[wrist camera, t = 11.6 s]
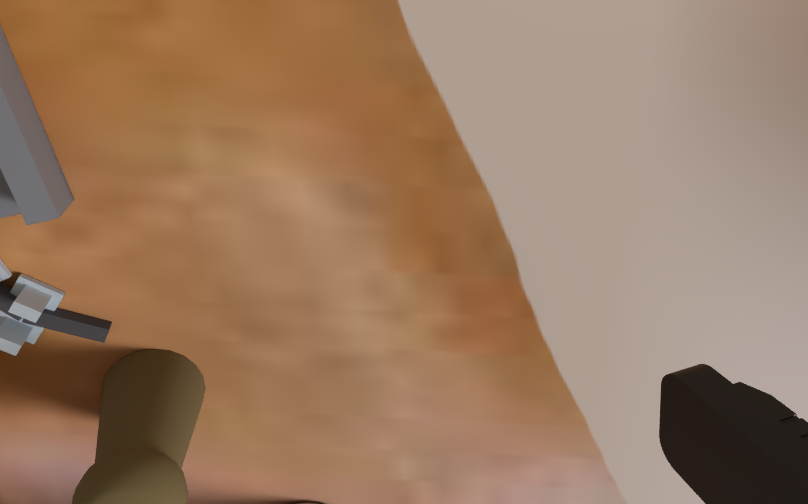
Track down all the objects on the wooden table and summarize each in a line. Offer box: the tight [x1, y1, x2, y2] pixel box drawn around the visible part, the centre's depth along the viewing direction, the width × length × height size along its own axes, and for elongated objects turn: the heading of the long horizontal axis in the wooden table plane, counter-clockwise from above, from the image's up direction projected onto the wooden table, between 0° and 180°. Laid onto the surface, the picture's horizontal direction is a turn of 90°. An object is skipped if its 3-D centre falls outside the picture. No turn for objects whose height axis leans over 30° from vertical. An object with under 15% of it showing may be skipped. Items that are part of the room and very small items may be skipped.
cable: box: [0, 282, 112, 342], centre depth 33 cm, size 10×3×1 cm, turn 42°
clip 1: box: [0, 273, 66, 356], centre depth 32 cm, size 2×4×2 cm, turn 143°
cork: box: [72, 349, 205, 504], centre depth 33 cm, size 6×6×11 cm
